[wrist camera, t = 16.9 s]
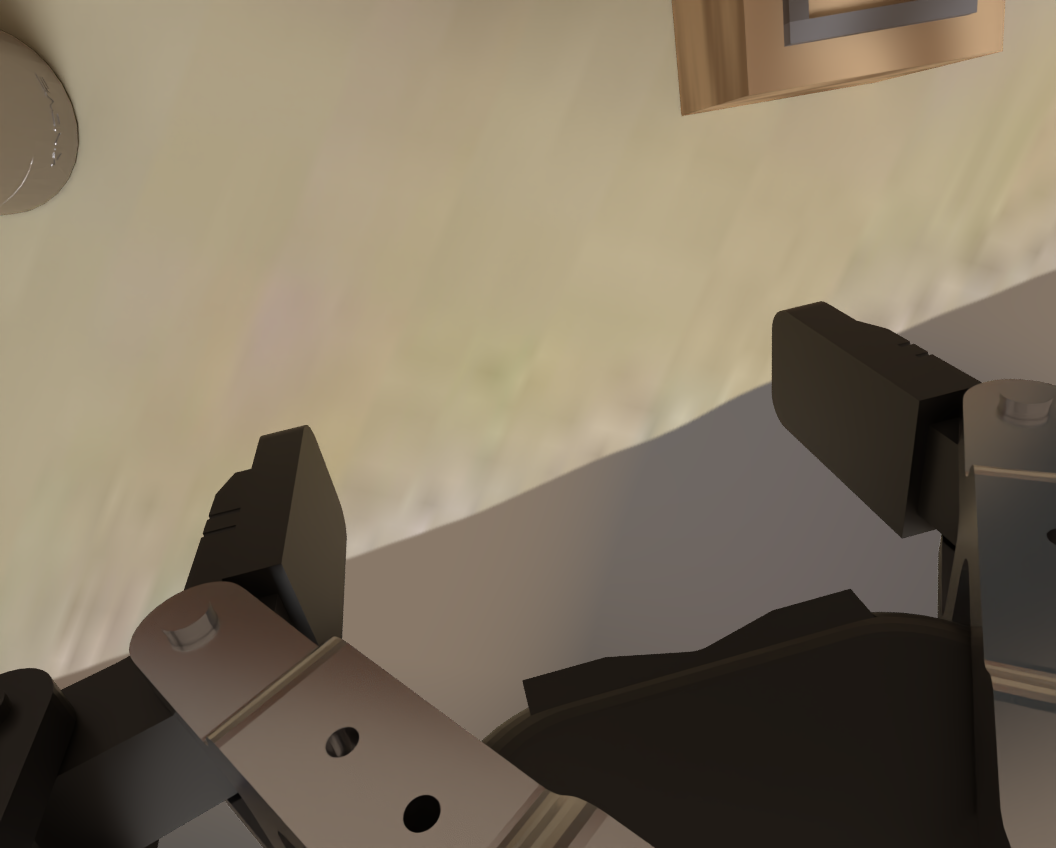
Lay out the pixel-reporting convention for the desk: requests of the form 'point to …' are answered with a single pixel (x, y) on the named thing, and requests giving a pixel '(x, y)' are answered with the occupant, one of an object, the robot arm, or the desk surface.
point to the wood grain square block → (819, 44)
